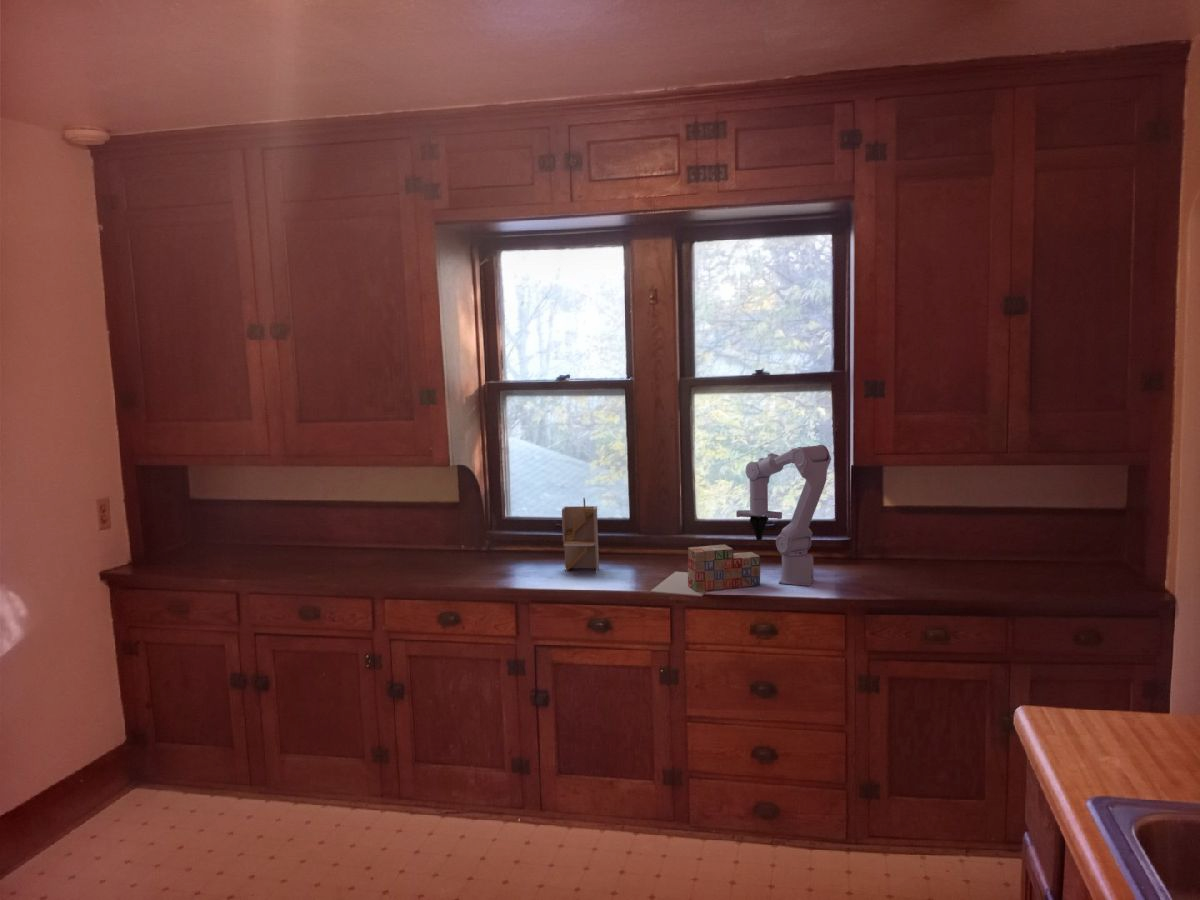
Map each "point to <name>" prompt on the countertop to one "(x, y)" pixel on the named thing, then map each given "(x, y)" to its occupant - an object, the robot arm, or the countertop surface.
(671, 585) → the mat
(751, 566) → the stack of blocks
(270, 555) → the countertop surface
